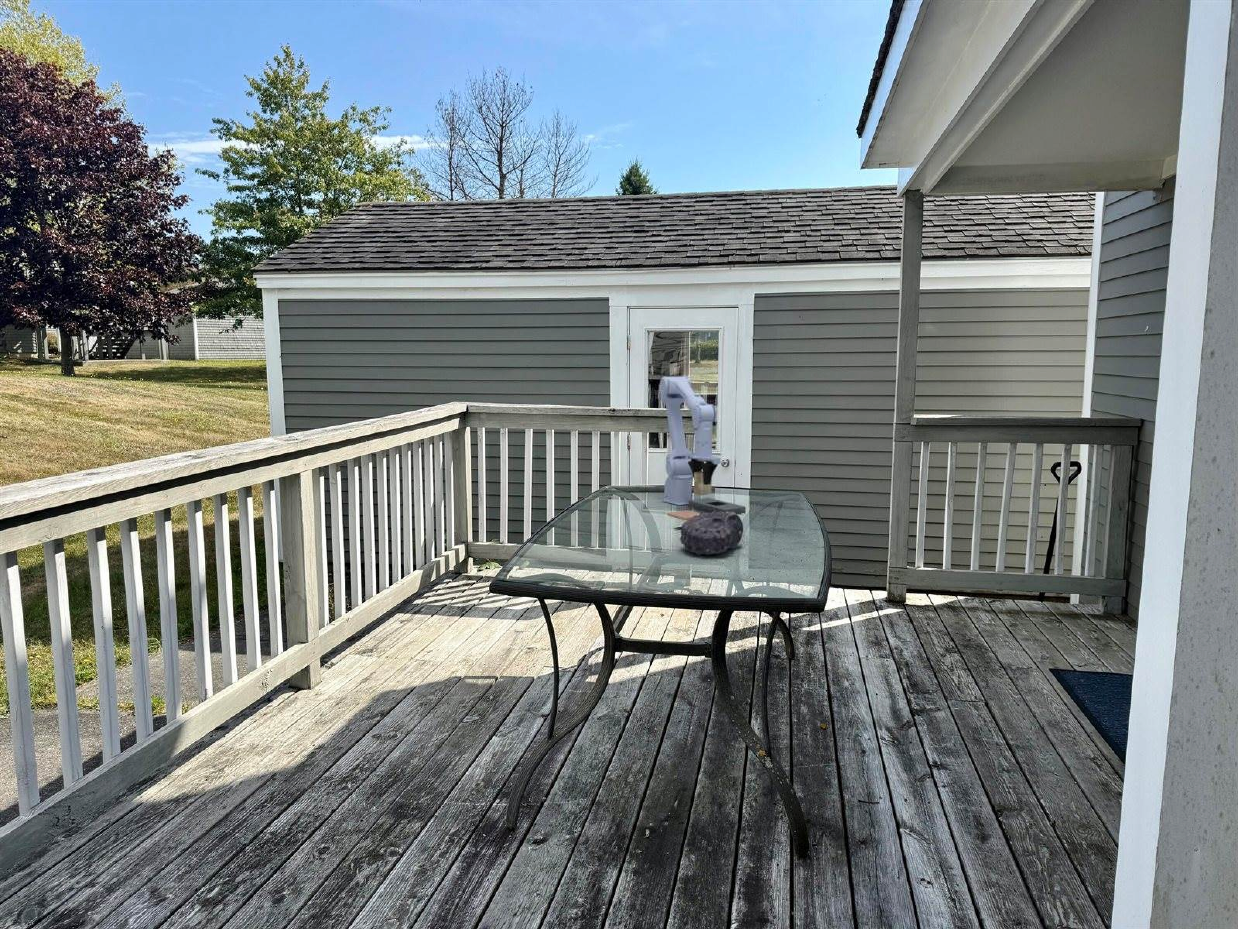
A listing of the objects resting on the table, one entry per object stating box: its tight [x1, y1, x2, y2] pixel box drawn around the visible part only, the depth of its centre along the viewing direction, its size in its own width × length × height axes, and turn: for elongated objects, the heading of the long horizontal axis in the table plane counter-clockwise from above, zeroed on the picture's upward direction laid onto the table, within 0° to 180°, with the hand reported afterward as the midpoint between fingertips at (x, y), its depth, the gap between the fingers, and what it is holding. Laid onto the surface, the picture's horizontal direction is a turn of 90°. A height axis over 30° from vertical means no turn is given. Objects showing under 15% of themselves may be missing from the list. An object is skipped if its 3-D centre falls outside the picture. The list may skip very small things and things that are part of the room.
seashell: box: [678, 511, 744, 556], centre depth 232 cm, size 20×13×15 cm
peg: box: [693, 470, 713, 496], centre depth 278 cm, size 4×4×7 cm
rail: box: [688, 497, 747, 515], centre depth 284 cm, size 18×9×2 cm, turn 36°
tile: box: [666, 509, 701, 521], centre depth 275 cm, size 9×9×1 cm
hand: (702, 483), depth 278 cm, fingers closed on peg, 4 cm apart
